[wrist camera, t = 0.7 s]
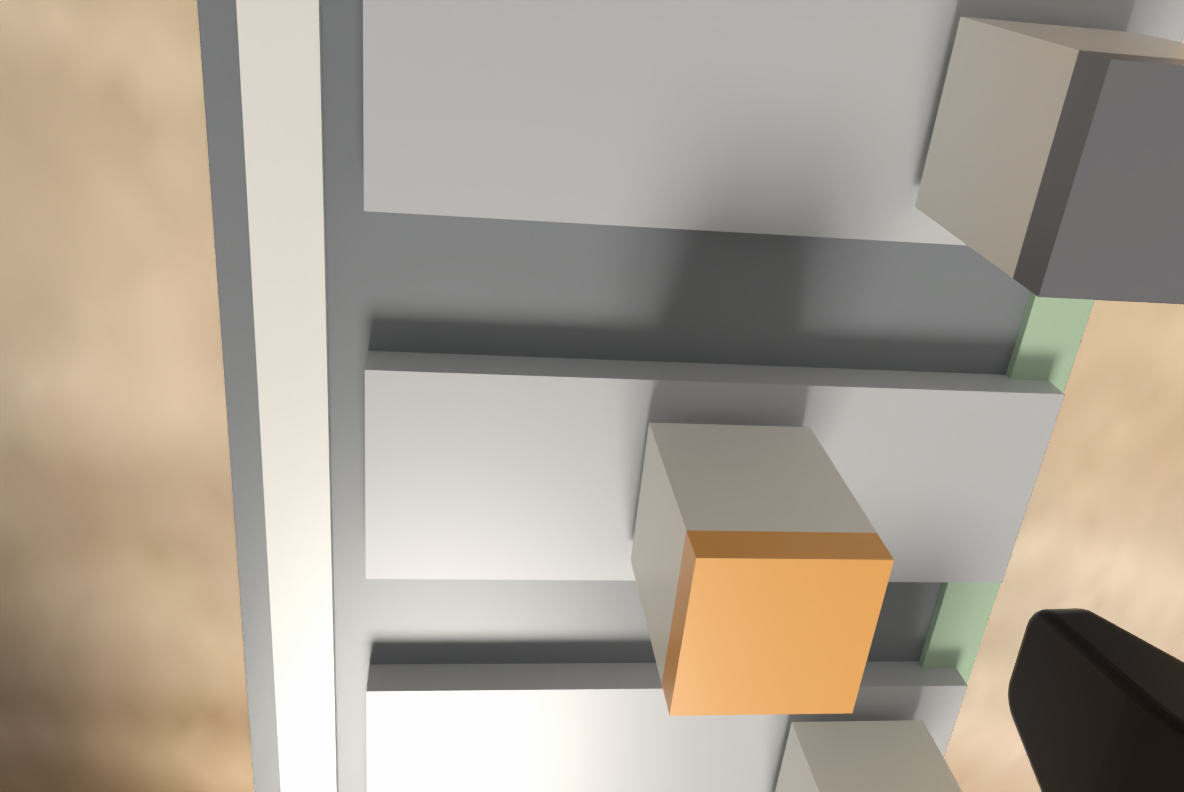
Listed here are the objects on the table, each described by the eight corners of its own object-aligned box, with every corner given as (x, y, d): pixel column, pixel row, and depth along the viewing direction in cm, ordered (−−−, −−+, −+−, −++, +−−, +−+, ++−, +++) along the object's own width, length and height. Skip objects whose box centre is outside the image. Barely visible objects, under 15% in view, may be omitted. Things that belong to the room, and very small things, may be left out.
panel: (893, 784, 27) (929, 857, 25) (269, 798, 25) (252, 881, 23) (1163, -90, 18) (1253, -84, 16) (206, -195, 16) (168, -206, 14)
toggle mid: (781, 561, 20) (852, 713, 16) (630, 560, 20) (669, 715, 16) (810, 427, 19) (894, 559, 15) (649, 422, 18) (696, 557, 15)
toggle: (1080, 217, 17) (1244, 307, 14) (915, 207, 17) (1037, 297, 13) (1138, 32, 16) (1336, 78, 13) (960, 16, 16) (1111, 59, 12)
